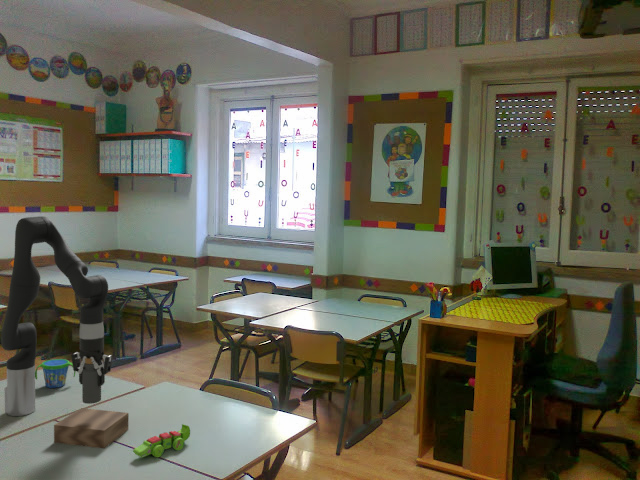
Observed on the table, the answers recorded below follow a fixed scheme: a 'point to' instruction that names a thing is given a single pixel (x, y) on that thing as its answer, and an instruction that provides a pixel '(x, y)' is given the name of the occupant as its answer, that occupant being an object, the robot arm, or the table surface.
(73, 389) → the table surface
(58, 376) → the snack cup
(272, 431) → the table surface
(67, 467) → the table surface
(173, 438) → the toy crocodile
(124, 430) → the wooden box
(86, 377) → the bottle
